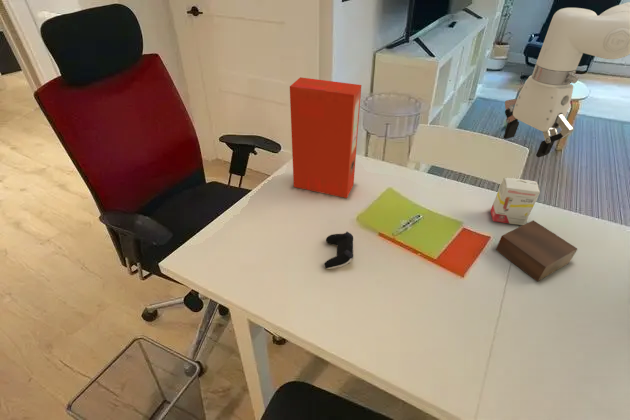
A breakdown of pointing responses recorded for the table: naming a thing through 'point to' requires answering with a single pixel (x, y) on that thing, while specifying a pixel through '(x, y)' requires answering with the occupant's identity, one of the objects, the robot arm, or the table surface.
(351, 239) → the gaming controller
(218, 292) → the table surface
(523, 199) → the ink box
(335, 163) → the file binder
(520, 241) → the walnut block
